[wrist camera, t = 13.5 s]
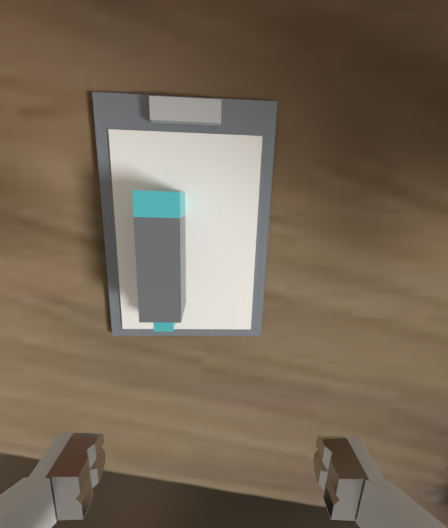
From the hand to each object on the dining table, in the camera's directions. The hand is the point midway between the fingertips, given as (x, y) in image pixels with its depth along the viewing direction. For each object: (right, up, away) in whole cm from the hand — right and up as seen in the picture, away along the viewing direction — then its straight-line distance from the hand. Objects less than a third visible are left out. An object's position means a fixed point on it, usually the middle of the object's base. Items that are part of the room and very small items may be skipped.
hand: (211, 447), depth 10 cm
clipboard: (-3, +10, +16) cm, 19 cm away
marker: (-5, +7, +16) cm, 18 cm away
